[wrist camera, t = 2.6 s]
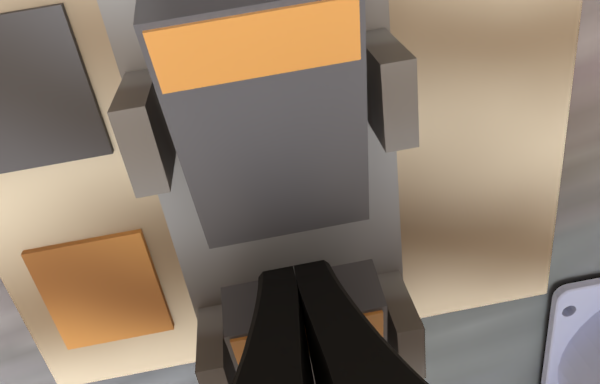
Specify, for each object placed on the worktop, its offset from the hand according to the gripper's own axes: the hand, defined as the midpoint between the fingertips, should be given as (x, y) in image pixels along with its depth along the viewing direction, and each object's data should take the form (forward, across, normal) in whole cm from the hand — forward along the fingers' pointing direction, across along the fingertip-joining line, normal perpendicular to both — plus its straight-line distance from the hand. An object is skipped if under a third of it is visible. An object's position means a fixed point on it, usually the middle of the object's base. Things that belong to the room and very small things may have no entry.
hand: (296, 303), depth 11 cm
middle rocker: (0, 0, -4) cm, 4 cm away
